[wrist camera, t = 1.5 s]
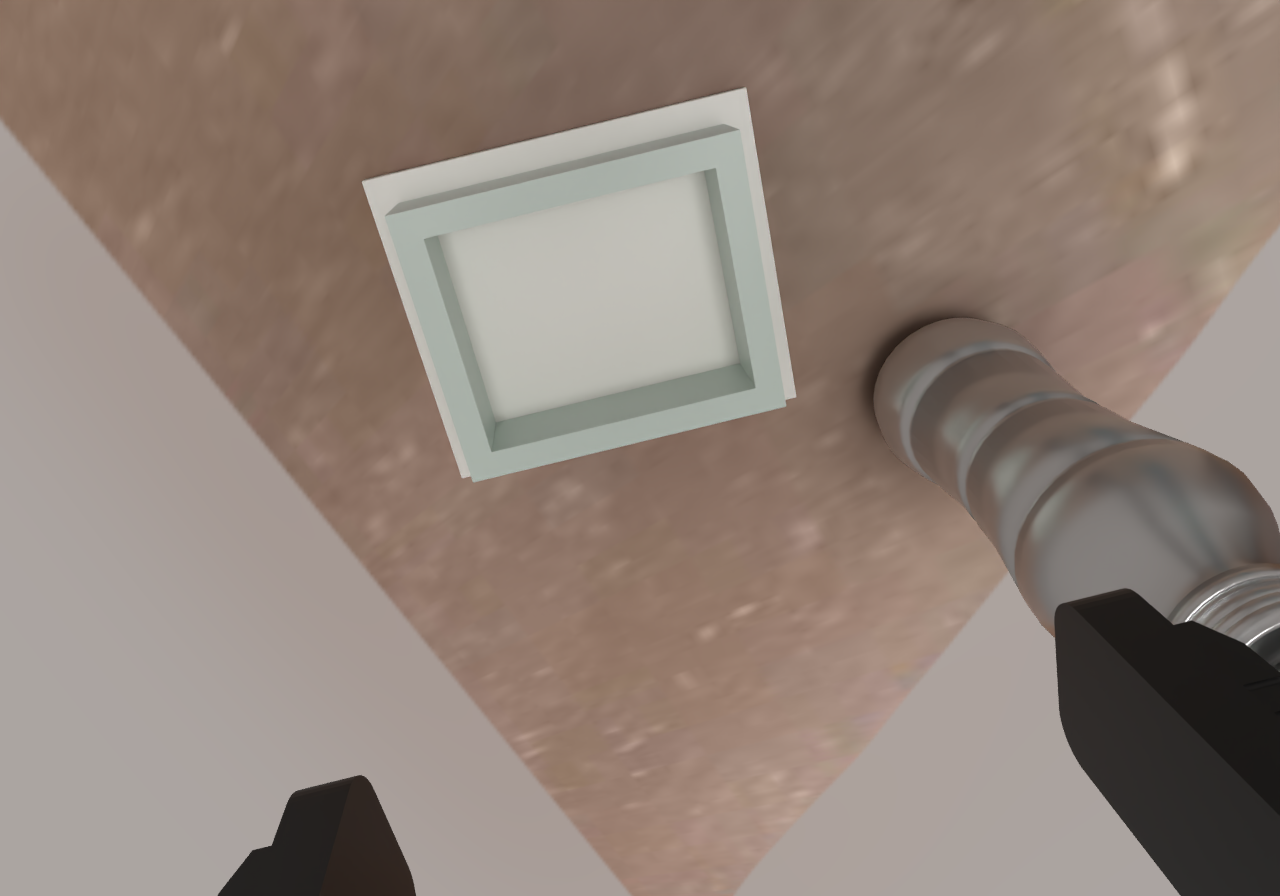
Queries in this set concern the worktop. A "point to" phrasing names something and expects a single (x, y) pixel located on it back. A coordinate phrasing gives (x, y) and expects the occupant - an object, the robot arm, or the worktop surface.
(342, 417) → the worktop surface
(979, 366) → the plastic bottle
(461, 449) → the dock
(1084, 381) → the worktop surface
